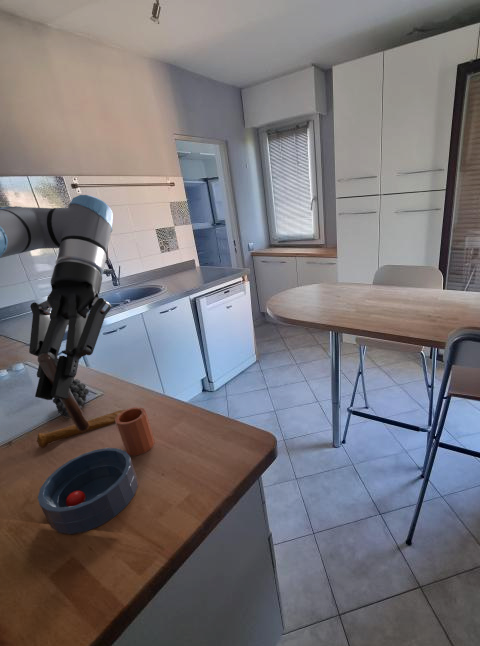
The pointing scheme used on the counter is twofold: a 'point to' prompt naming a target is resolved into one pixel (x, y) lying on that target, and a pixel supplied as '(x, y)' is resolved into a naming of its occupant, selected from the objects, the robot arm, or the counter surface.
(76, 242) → the robot arm
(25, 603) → the counter surface
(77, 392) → the fruit
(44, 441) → the primitive tool
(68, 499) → the tomato
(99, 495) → the bowl
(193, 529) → the counter surface
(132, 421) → the crock
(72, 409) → the stick
